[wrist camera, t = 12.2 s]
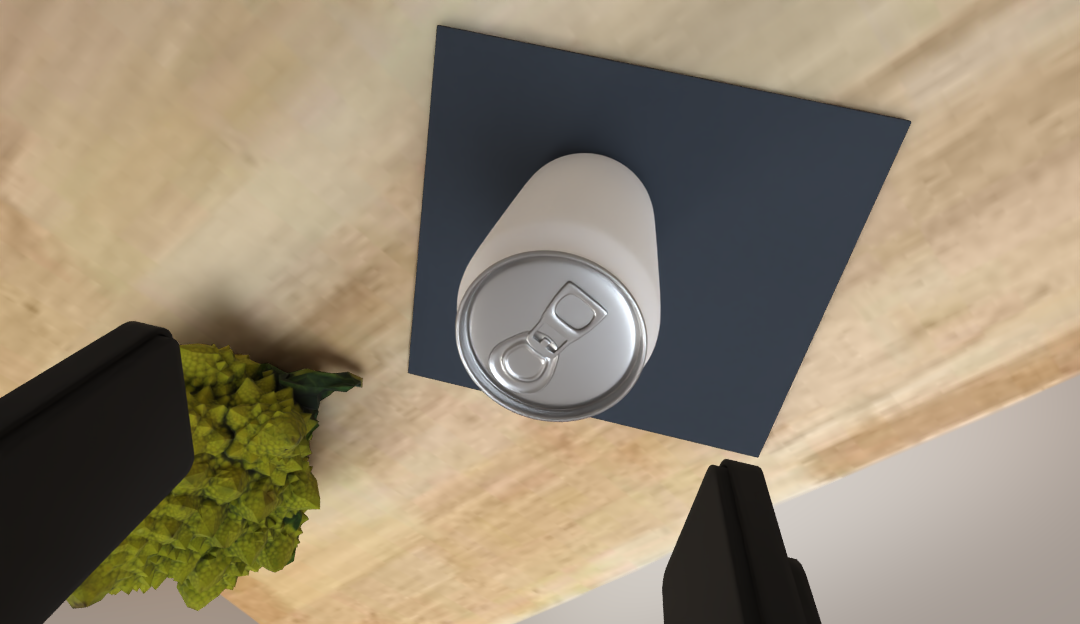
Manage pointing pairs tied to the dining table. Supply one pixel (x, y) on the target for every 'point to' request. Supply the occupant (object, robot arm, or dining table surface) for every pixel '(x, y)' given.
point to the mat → (658, 215)
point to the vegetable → (227, 481)
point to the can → (563, 293)
